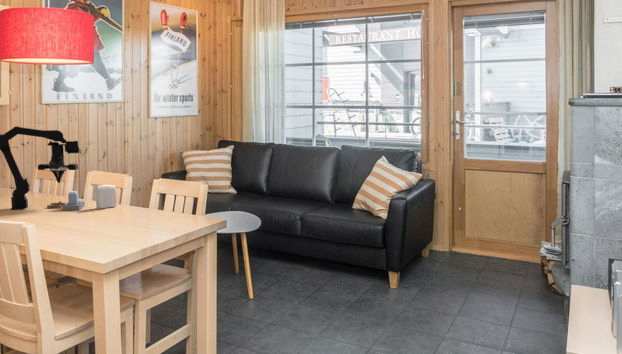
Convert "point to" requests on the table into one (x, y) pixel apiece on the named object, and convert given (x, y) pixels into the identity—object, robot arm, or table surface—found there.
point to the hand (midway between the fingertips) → (58, 182)
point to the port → (73, 206)
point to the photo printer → (105, 196)
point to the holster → (56, 205)
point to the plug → (73, 198)
